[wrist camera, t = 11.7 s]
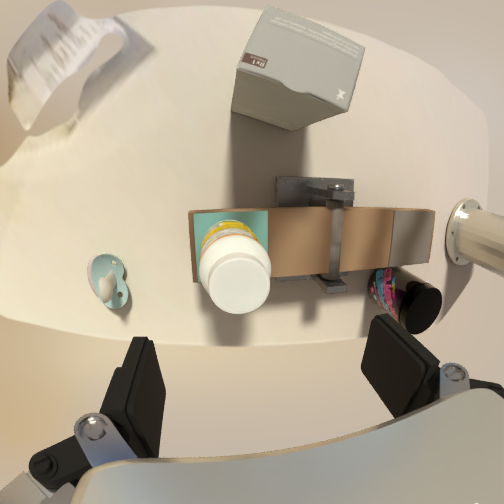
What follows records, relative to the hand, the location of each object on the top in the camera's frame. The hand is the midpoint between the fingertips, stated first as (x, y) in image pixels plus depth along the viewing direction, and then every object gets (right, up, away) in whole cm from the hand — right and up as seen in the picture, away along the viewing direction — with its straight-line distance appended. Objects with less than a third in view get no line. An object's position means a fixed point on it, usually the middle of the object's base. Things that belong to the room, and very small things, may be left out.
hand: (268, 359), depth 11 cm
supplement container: (+20, 0, +28) cm, 35 cm away
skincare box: (+1, +22, +19) cm, 29 cm away
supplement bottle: (-3, +5, +16) cm, 17 cm away
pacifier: (-20, +1, +22) cm, 30 cm away
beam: (+8, +6, +18) cm, 21 cm away
